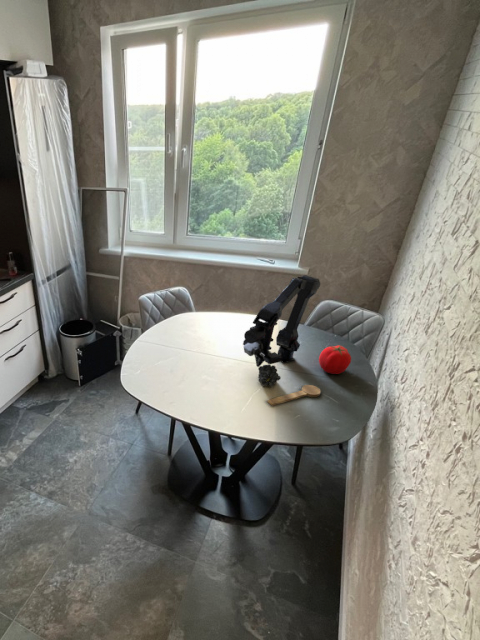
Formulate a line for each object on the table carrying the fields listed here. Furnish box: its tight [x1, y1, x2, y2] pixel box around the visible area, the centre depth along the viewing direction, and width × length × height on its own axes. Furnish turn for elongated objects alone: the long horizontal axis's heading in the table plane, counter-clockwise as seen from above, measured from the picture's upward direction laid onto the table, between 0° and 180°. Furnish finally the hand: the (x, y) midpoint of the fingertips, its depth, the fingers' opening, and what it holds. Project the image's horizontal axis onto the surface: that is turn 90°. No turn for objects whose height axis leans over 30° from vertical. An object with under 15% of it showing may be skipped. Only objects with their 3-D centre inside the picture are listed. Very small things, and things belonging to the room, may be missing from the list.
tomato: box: [318, 344, 352, 375], centre depth 176 cm, size 12×13×12 cm
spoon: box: [267, 384, 322, 407], centre depth 164 cm, size 24×7×1 cm, turn 109°
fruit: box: [257, 364, 282, 387], centre depth 173 cm, size 9×8×15 cm
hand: (258, 366), depth 179 cm, fingers closed
